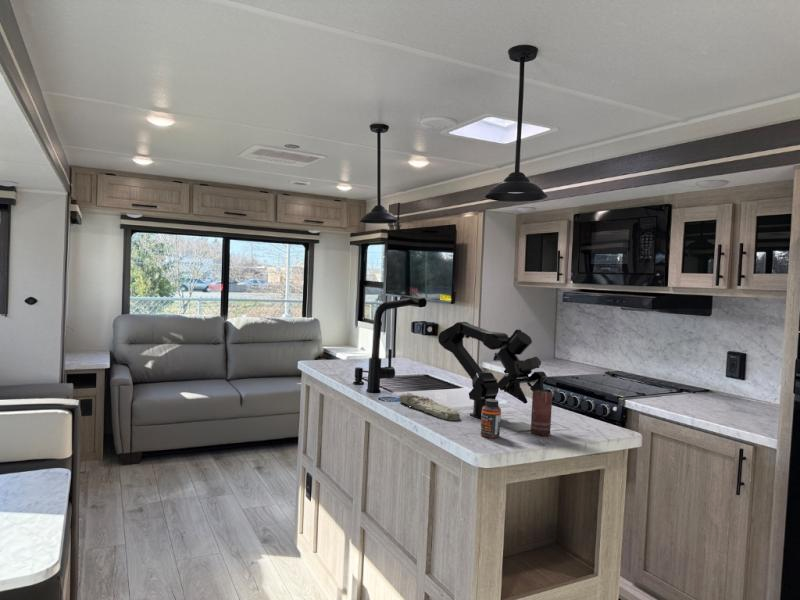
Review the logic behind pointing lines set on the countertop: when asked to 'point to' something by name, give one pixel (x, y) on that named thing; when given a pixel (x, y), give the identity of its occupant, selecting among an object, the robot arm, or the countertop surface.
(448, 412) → the elongated rock
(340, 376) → the countertop surface
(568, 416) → the countertop surface
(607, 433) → the countertop surface
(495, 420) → the supplement bottle
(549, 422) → the can
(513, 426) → the mat
